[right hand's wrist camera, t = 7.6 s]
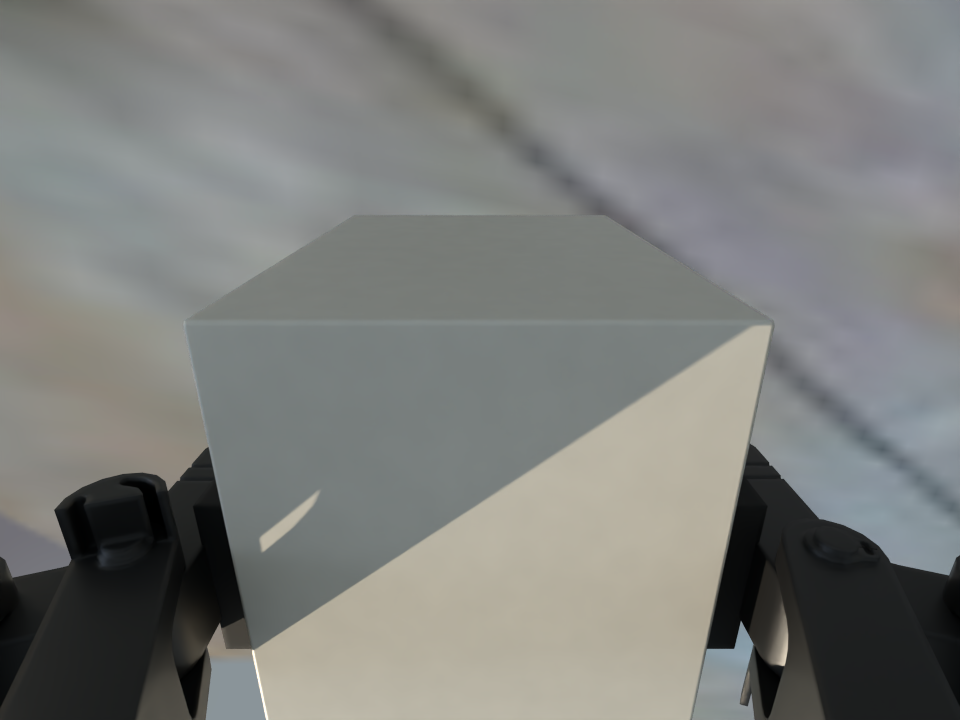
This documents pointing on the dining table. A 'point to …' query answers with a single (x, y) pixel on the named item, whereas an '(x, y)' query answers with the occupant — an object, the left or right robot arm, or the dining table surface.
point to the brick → (478, 467)
